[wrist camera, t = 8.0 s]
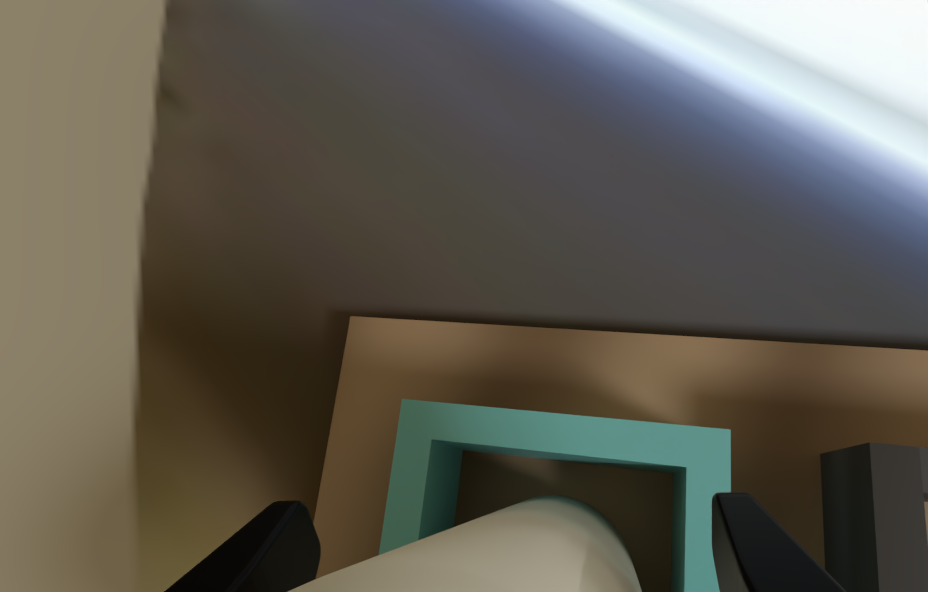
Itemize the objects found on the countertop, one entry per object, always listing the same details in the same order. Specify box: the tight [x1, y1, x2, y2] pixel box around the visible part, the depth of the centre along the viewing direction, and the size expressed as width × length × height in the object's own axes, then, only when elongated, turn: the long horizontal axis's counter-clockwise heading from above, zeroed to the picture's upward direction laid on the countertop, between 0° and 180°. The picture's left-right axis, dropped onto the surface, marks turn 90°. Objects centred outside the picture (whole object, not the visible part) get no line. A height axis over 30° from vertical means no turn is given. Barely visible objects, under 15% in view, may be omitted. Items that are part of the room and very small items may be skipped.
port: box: [379, 399, 731, 592], centre depth 13 cm, size 7×7×3 cm
